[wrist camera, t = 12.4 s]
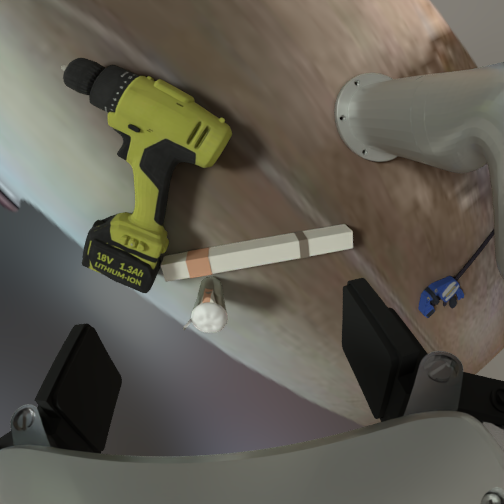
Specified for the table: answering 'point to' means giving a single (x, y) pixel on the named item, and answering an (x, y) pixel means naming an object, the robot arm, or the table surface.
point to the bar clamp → (446, 288)
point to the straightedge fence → (256, 252)
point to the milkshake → (209, 307)
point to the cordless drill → (143, 163)
